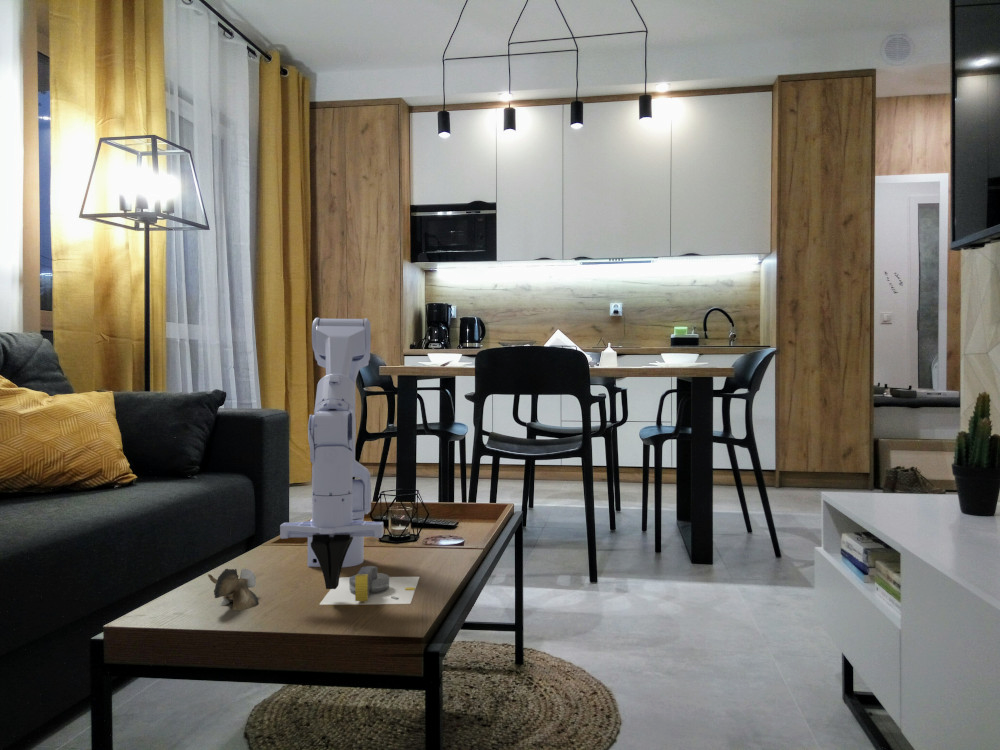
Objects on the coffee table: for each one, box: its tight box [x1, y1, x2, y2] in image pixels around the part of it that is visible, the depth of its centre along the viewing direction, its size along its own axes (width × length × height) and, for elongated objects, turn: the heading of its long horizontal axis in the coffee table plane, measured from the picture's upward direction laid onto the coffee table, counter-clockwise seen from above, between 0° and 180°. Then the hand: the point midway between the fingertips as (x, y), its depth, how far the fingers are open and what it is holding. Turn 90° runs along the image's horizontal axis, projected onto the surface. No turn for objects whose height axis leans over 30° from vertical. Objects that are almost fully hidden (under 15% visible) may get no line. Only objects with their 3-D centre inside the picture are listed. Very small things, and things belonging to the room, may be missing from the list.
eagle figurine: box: [207, 568, 260, 611], centre depth 99 cm, size 8×7×9 cm
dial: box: [349, 565, 390, 601], centre depth 104 cm, size 10×6×4 cm, turn 1°
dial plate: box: [318, 576, 420, 606], centre depth 106 cm, size 13×14×1 cm
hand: (332, 587), depth 100 cm, fingers closed
